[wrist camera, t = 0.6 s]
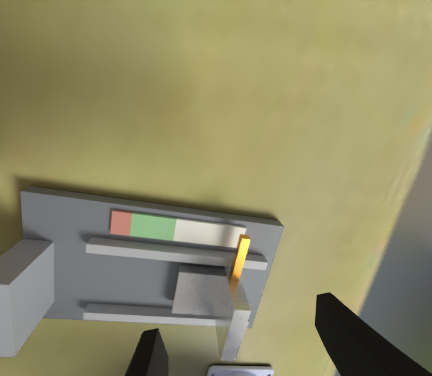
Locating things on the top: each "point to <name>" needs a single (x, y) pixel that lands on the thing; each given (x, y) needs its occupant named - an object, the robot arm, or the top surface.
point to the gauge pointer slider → (217, 298)
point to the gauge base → (118, 260)
